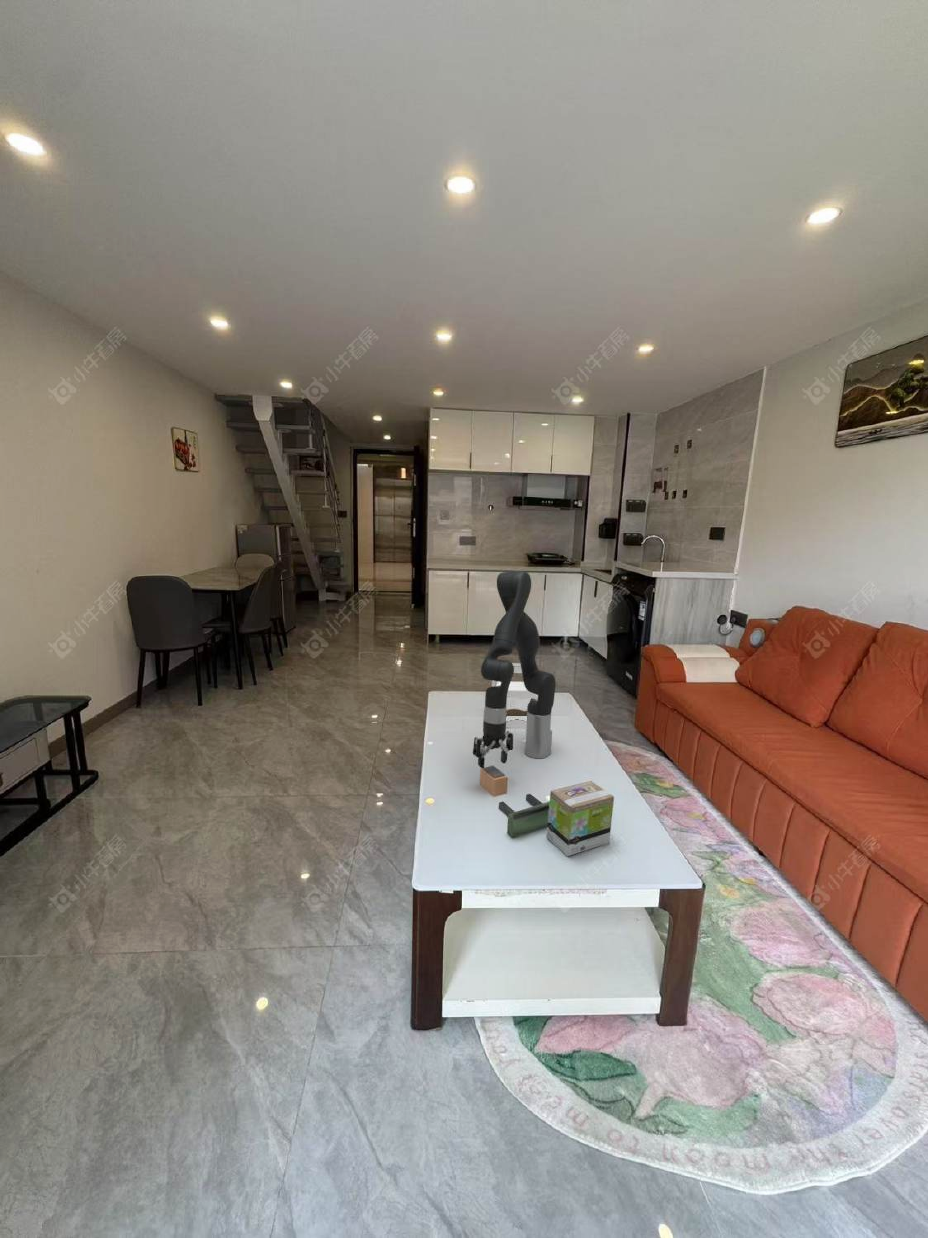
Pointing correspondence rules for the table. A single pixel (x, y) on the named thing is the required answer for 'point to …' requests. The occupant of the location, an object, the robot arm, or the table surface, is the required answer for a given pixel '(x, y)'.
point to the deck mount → (526, 817)
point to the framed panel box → (493, 780)
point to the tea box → (579, 817)
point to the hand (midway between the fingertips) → (492, 765)
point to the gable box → (519, 692)
